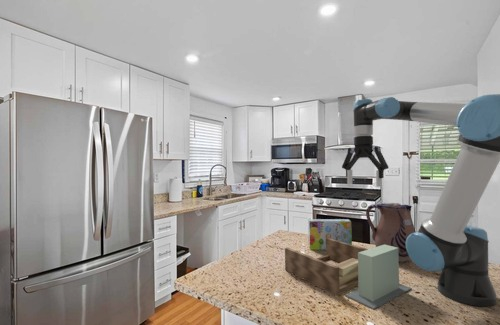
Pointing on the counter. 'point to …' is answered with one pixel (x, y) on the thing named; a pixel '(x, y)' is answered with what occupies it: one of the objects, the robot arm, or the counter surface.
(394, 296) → the mat
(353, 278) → the offcut stack
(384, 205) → the ceramic pitcher
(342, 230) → the snack box
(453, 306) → the counter surface
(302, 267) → the rack
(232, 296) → the counter surface
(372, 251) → the pale green block
